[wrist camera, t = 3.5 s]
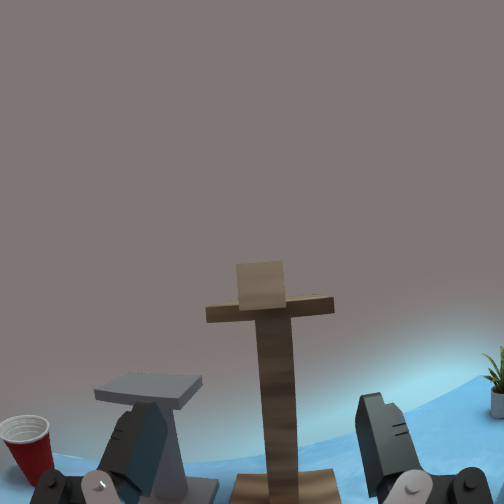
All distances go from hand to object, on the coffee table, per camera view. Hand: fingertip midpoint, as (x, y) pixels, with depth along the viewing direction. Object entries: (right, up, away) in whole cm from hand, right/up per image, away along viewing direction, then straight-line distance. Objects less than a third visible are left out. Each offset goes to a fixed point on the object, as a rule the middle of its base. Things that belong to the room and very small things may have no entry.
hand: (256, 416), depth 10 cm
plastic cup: (-37, -34, +19) cm, 54 cm away
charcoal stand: (-12, -33, +22) cm, 41 cm away
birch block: (+2, +1, +21) cm, 21 cm away
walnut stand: (+5, -31, +21) cm, 38 cm away
